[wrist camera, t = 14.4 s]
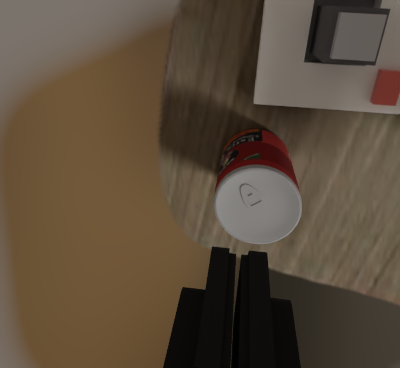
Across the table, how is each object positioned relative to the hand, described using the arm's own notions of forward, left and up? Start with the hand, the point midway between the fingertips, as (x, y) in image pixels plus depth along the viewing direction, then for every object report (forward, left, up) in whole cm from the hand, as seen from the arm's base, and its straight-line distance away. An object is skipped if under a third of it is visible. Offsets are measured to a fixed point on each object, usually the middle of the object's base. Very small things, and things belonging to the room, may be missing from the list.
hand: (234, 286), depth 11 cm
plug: (-8, -6, -29) cm, 30 cm away
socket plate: (-8, -6, -29) cm, 31 cm away
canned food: (-2, +8, -29) cm, 30 cm away
